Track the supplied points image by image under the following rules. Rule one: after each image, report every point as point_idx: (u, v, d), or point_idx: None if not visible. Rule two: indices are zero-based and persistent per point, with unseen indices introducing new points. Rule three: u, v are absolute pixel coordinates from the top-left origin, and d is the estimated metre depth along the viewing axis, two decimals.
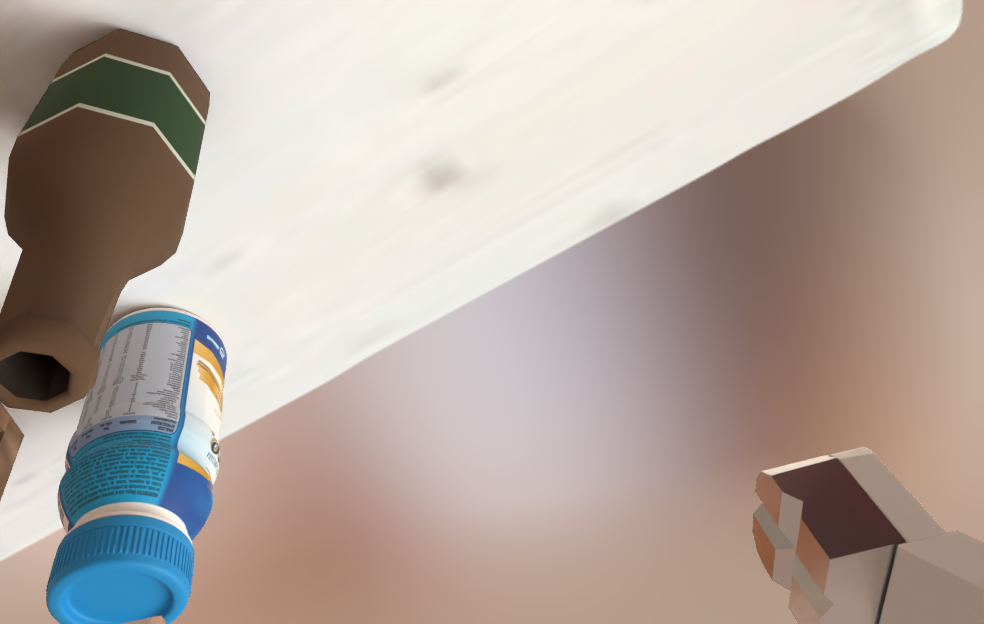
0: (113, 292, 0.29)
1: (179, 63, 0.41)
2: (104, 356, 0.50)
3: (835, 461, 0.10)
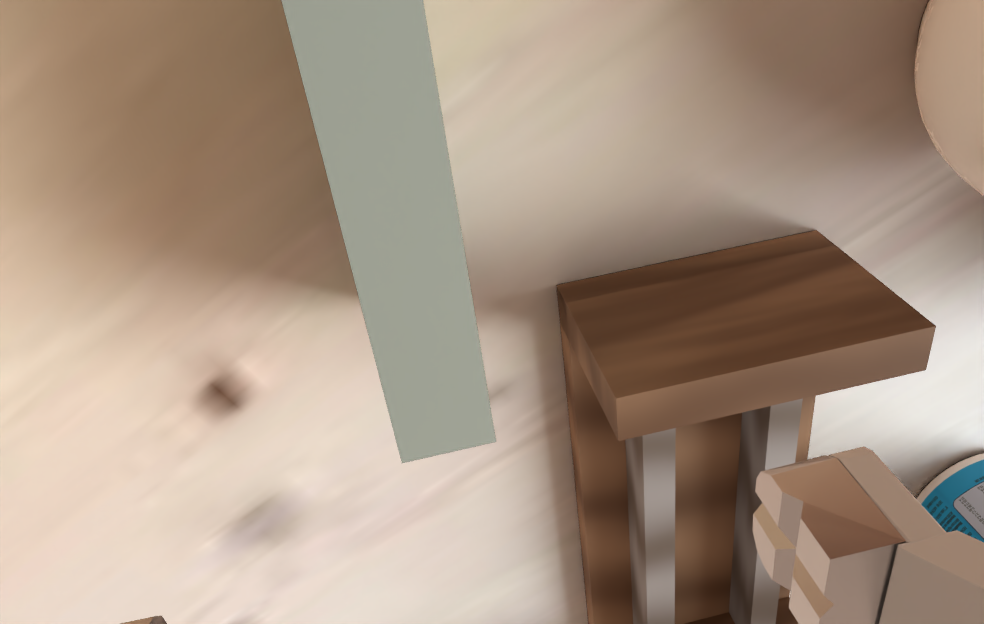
0: None
1: None
2: None
3: (835, 461, 0.10)
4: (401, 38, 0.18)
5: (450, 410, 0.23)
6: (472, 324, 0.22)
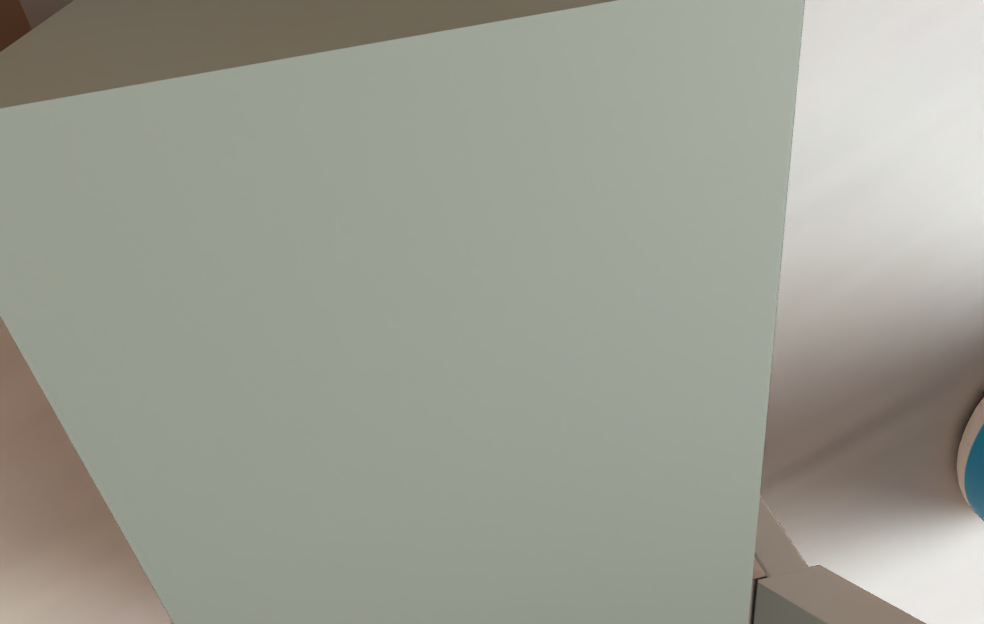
0: None
1: None
2: None
3: None
4: None
5: None
6: None
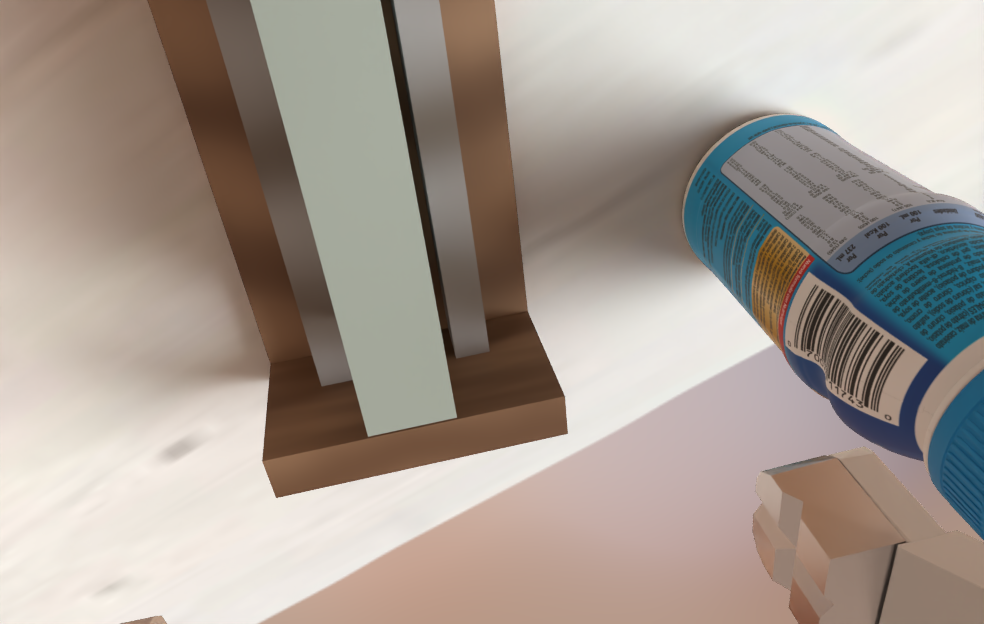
0: None
1: None
2: (752, 167, 0.32)
3: (835, 461, 0.10)
4: (361, 38, 0.19)
5: (412, 387, 0.25)
6: (432, 305, 0.23)
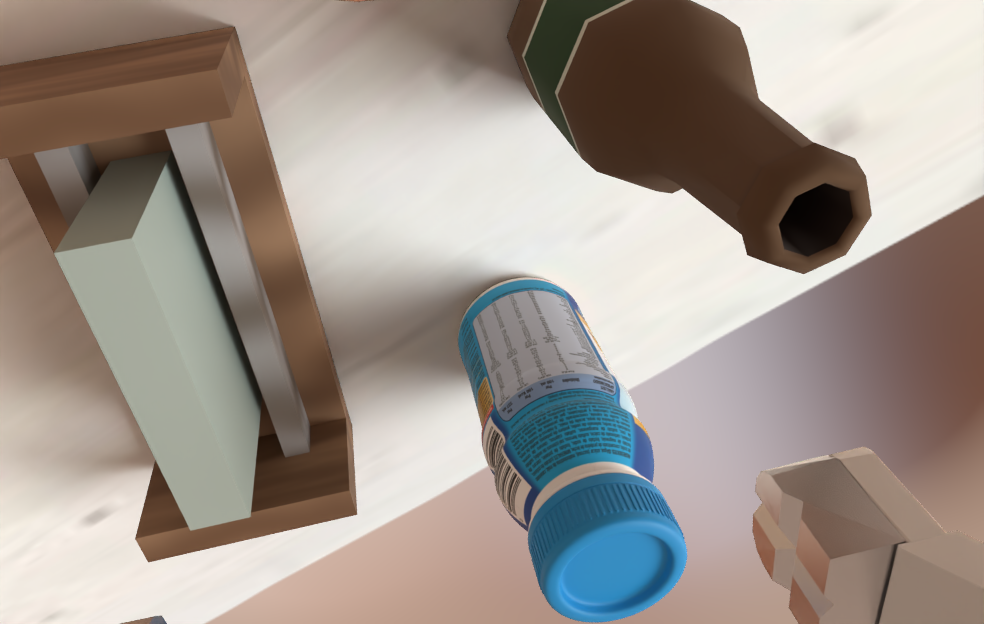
0: None
1: None
2: (487, 325, 0.46)
3: (834, 461, 0.10)
4: (148, 315, 0.32)
5: (215, 499, 0.38)
6: (220, 452, 0.37)
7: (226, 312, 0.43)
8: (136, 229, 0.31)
